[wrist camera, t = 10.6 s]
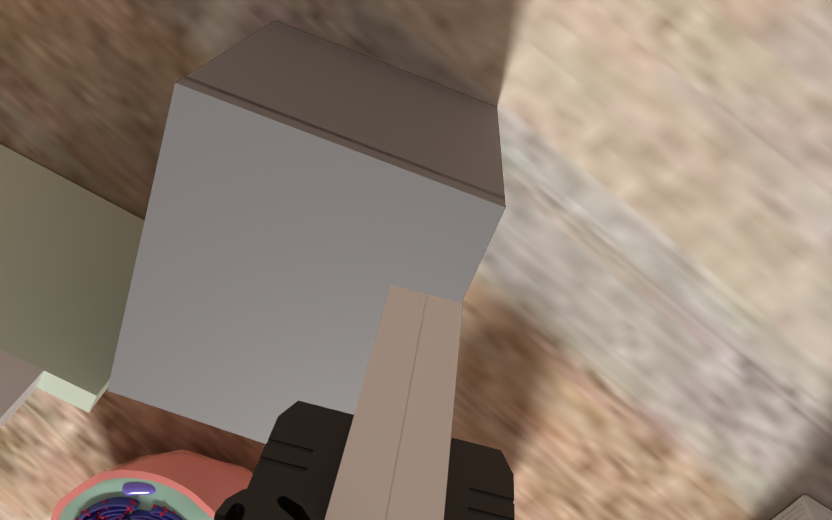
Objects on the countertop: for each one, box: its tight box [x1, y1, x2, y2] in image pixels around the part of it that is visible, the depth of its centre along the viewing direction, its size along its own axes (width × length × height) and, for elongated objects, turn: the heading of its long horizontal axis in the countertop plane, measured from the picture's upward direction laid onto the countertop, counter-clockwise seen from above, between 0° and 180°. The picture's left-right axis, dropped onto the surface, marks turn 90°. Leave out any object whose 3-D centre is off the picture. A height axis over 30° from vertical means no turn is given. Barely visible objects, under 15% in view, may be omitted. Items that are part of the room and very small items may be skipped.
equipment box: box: [107, 21, 506, 444], centre depth 40 cm, size 14×16×16 cm
